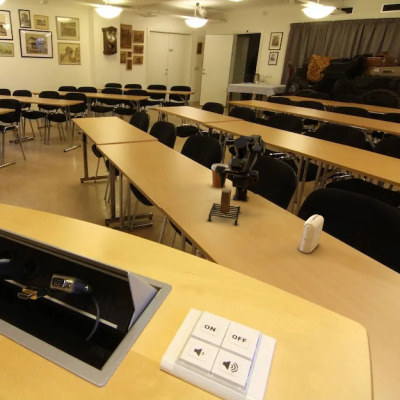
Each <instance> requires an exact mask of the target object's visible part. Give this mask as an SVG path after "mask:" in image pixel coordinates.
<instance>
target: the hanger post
mask: <svg viewBox="0 0 400 400" xmlns="http://www.w3.org/2000/svg"><path fill="white" fill-rule="evenodd" d="M232 190H233V189H232V188H227V187H224V188H222V189H221V191H220V192H221V194H220V204H221V205H220V207H219V208H220V209H219V210H220V214H227V215H229V214H228V213H230V212H229V209H230V208H231V207H230V206H231V200H232V199H231V198H232Z"/></svg>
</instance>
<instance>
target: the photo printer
mask: <svg viewBox="0 0 400 400" xmlns="http://www.w3.org/2000/svg"><path fill="white" fill-rule="evenodd" d="M324 222H325V218H324V217H323V216H322V215H319V214H313V215H311V216H310V217H309V218H308V219H307V220H305V222H304V225H303V228H302V232H301V238H300V242H299V245H298V249H299V251H300V252H302V253H306V254H308V253H311V252H313V251H314V250H315V248H316V247H317V246H318V245H319V242H320V239H321V235H322V230H323V226H324Z"/></svg>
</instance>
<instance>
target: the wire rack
mask: <svg viewBox="0 0 400 400" xmlns="http://www.w3.org/2000/svg"><path fill="white" fill-rule="evenodd" d="M220 205H221V203H216V202H213V203H212V206H211V208H210V210H209V213H208V218H207V222H211V221H212V217H219V218H224V219H225V218H226V219H233V220H234V226H238V222H239V221H238V220H239V215H240V213H241V206H240V205H238V206H236V205H235V206H234V205H230V209H229V212H228V214H223V213H220Z"/></svg>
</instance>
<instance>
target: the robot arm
mask: <svg viewBox="0 0 400 400" xmlns="http://www.w3.org/2000/svg"><path fill="white" fill-rule="evenodd" d="M233 148H234V152H235V153H236V154H235V156H234V157H231V158H230V161H229V164H228V166H229V170H227V169H226V168H225V166H219V165H218V166H216V168H215V172H216V174H217V176H219V177H220V183H221V188H220V189H221V190H223V188H222V187H223V184H224V181H225V176H226V174H227V175H231V176H232V180H231V182H232V183H231V187H232V188H235V189H234V190H235V191H234V195H233V201H241V202H248V198H249V196H248V192H249V190H252V189H253V184H255V183H258V182H259V180H260V174H259V173H260V172H259V171H258V170H253V168H254V166H255V164H256V162H257V160H258V159H260V158H262V156H263V155H264V154H265V152H266V142H265V141H264V139H263V137H262V135H261V134H250V135H244V134H243V135H242V134H240V135H239V137H237V138H235V139H234V141H233Z"/></svg>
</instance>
